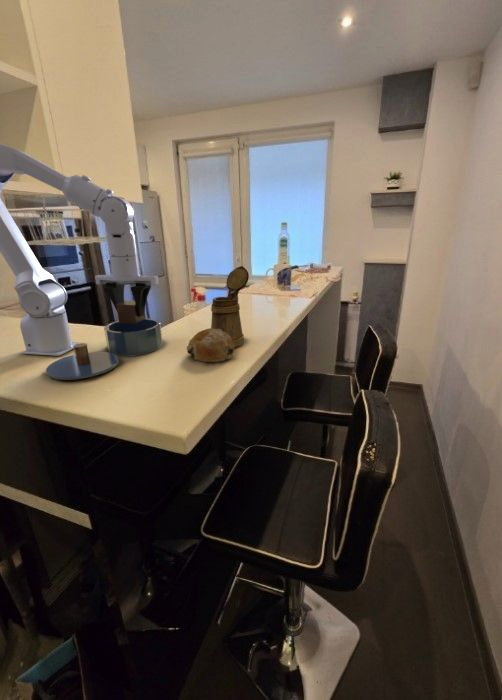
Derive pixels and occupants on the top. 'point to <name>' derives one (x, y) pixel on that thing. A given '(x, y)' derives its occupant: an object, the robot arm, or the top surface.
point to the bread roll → (211, 346)
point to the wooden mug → (230, 307)
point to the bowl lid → (82, 364)
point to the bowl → (133, 337)
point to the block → (128, 312)
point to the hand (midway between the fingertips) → (131, 315)
